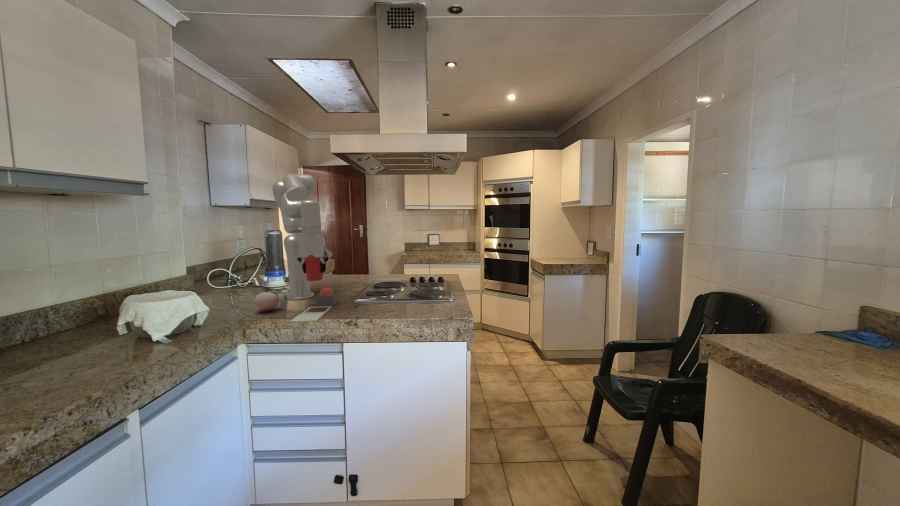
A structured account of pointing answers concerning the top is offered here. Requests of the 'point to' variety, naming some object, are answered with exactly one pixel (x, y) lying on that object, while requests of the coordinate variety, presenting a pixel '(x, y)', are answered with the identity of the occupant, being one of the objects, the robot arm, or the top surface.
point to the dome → (326, 292)
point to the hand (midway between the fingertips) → (314, 272)
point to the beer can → (313, 268)
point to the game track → (319, 301)
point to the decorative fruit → (267, 300)
